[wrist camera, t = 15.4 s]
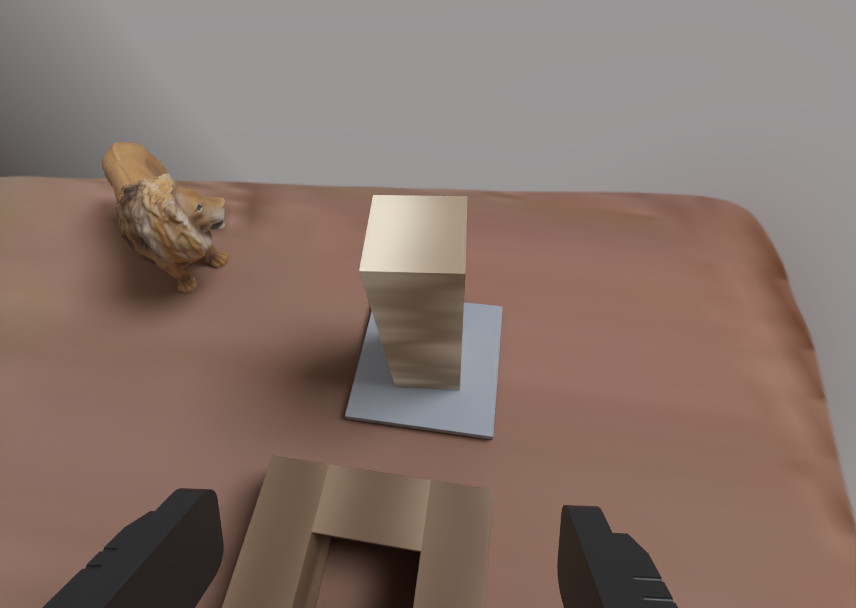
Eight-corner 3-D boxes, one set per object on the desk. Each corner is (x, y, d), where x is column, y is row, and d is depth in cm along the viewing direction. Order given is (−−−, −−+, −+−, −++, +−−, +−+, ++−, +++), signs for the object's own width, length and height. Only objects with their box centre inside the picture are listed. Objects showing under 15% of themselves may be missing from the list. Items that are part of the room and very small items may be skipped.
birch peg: (395, 387, 24) (359, 270, 15) (401, 330, 26) (373, 195, 16) (459, 390, 24) (465, 273, 14) (461, 332, 25) (467, 196, 16)
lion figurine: (277, 278, 29) (214, 175, 21) (209, 329, 27) (114, 235, 20) (172, 180, 35) (94, 71, 27) (110, 216, 33) (7, 111, 25)
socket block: (219, 729, 17) (170, 762, 14) (296, 470, 22) (272, 455, 19) (466, 788, 16) (469, 839, 13) (487, 500, 21) (493, 489, 18)
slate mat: (347, 419, 24) (344, 416, 23) (377, 298, 28) (376, 293, 27) (492, 439, 23) (492, 436, 22) (501, 311, 27) (502, 306, 26)
